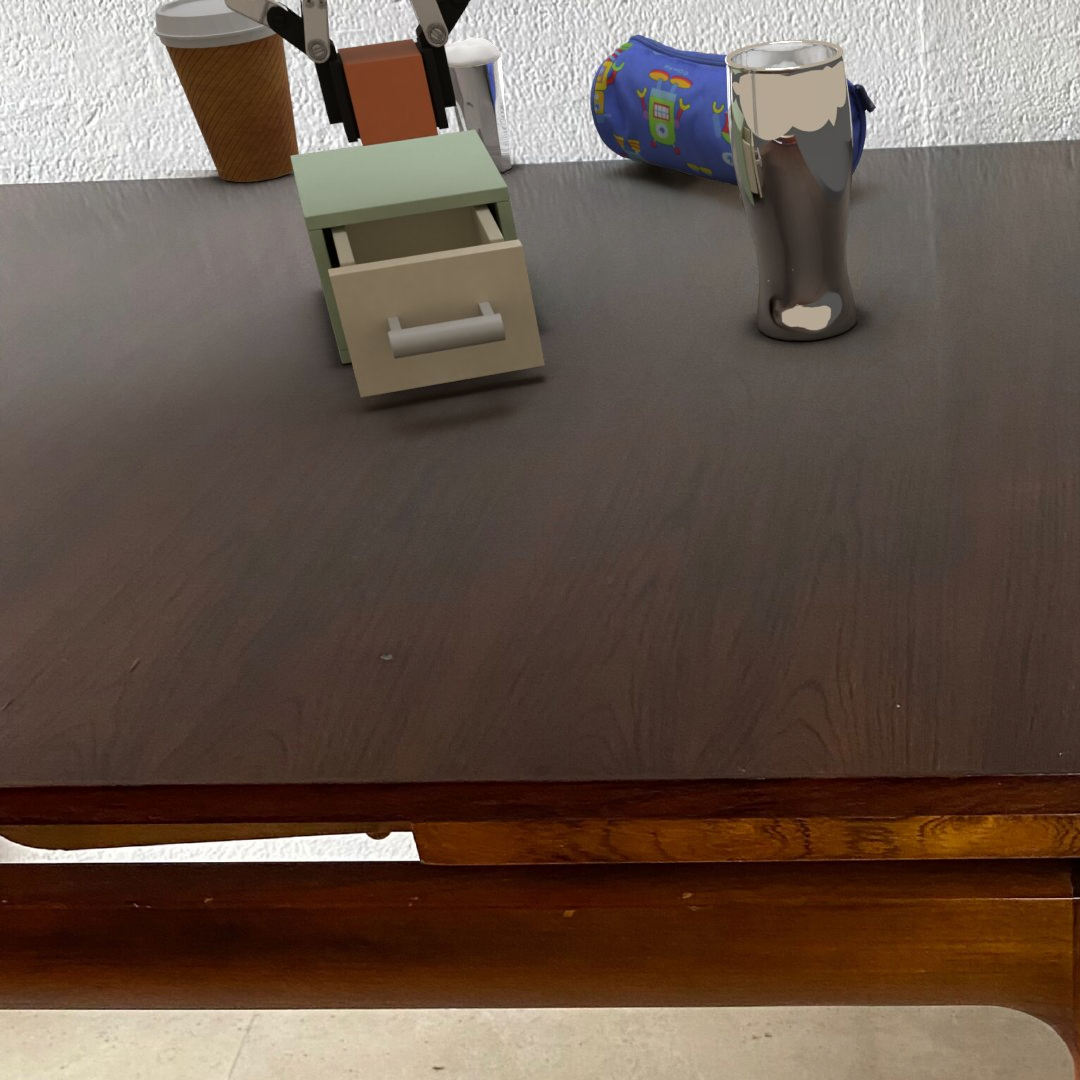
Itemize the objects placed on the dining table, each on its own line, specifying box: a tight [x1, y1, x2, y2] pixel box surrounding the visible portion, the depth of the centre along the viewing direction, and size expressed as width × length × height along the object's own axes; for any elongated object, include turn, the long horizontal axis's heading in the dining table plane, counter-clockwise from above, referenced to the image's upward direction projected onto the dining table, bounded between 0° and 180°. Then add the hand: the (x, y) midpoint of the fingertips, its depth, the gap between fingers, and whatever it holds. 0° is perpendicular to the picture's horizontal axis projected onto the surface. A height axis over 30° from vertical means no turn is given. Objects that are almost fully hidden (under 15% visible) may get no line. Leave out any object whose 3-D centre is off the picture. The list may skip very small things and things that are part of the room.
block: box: [337, 38, 439, 146], centre depth 92 cm, size 4×4×4 cm
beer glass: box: [725, 39, 858, 342], centre depth 100 cm, size 7×7×15 cm
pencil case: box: [589, 34, 877, 187], centre depth 125 cm, size 22×9×10 cm, turn 49°
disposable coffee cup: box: [153, 0, 300, 183], centre depth 133 cm, size 10×10×12 cm
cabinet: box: [291, 130, 518, 365], centre depth 107 cm, size 14×12×9 cm
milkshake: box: [445, 36, 512, 174], centre depth 131 cm, size 4×5×10 cm
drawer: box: [328, 204, 546, 398], centre depth 99 cm, size 17×10×7 cm, turn 19°
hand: (395, 125), depth 94 cm, fingers closed on block, 4 cm apart
